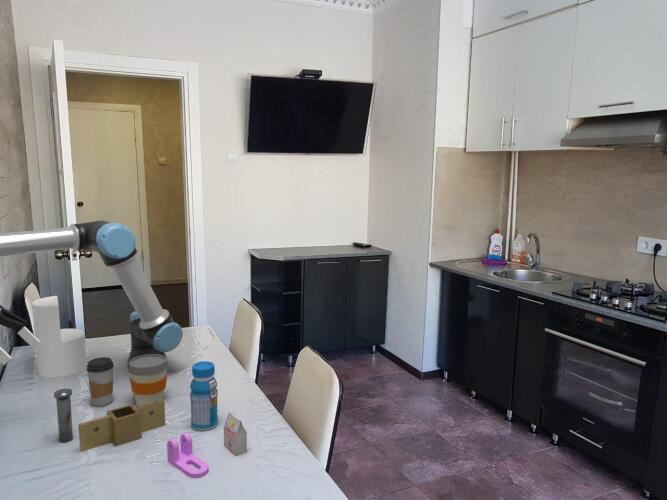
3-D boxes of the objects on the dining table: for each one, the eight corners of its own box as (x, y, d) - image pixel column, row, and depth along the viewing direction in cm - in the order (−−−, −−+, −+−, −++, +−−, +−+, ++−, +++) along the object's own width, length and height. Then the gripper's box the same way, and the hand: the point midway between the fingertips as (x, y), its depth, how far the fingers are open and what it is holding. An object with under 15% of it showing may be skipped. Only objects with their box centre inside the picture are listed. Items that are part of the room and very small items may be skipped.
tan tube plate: (160, 419, 160) (159, 396, 158) (169, 428, 154) (168, 404, 153) (77, 445, 144) (75, 419, 143) (84, 456, 139) (82, 430, 137)
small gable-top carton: (235, 441, 148) (234, 410, 146) (246, 451, 143) (246, 419, 141) (224, 445, 146) (223, 414, 144) (235, 456, 141) (235, 423, 139)
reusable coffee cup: (176, 398, 175) (175, 357, 172) (149, 413, 164) (147, 370, 161) (149, 391, 180) (148, 351, 178) (121, 405, 169) (119, 363, 166)
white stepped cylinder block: (37, 381, 186) (31, 308, 182) (37, 365, 201) (32, 298, 196) (88, 372, 195) (84, 303, 190) (85, 357, 210) (81, 293, 205)
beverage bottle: (193, 434, 152) (192, 372, 148) (188, 421, 159) (186, 362, 156) (221, 428, 155) (220, 367, 152) (214, 416, 163) (213, 358, 160)
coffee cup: (120, 399, 173) (118, 358, 170) (102, 410, 165) (100, 367, 163) (101, 395, 175) (99, 355, 173) (83, 406, 168) (80, 363, 165)
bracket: (167, 461, 137) (166, 438, 136) (185, 453, 142) (184, 430, 141) (194, 481, 129) (194, 456, 128) (212, 471, 133) (212, 448, 132)
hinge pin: (72, 433, 150) (69, 387, 148) (76, 440, 147) (73, 392, 144) (55, 438, 147) (52, 391, 145) (59, 445, 144) (55, 397, 142)
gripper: (-11, 298, 154) (39, 346, 156) (-77, 321, 129) (-16, 378, 131) (5, 282, 153) (55, 331, 155) (-58, 302, 128) (3, 360, 131)
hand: (23, 353), depth 143 cm, fingers open, 13 cm apart
